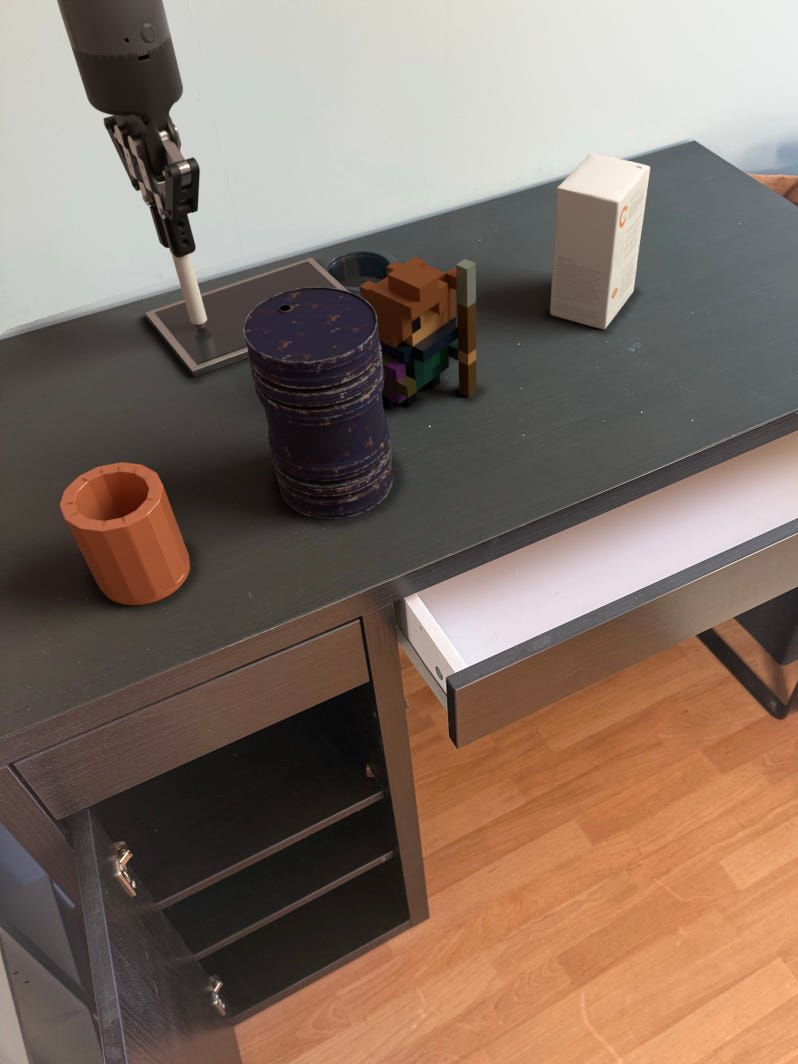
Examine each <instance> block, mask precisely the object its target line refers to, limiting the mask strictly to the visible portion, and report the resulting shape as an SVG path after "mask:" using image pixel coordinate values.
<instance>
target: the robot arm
mask: <svg viewBox="0 0 798 1064" xmlns="http://www.w3.org/2000/svg"><path fill="white" fill-rule="evenodd" d="M56 2H57V5H58V10H59V12H60V15H61V19H62V22H63V25H64V28H65V32H66V34H67V37H68V41H69V44H70V47H71V51H72V54H73V57H74V60H75V63H76V67H77V70H78V73H79V77H80V78H81V82H82V86H83V88H84V92H85V95H86V98H87V101H88V103H89V104H90V106H92V107H93V108H94V109H95V110H97V111H98V112H100V113H103V114H106V115H109V116H106V117H104V118H103V125H104V129H106V131H107V133H108V136H109V138H110V140H111V142H112V144H113V147H114V149H115V150H116V153H117V155H118V157H119V159H120V161H121V163H122V165H123V166H122V167H124V170H125V172H126V175H127V176H128V179H129V180H130V184H131V187H132V188H133V189H134V190H135V191H136V192H139V191H140V193H141V197H142V200H143V202H144V203H145V205H146V206H147V207H149V211H150V214H151V215H150V216H151V218H152V222H153V226H154V228H155V232H156V235H157V238H158V242H159V244H160V245H161V246H163V247H164V248H165V249H169V251H170V253H172V254H173V255H174V256H175V257H178V258H179V257H182V256H185V255H188V254H190V255H191V254H193V253H194V252H195V251H196V248H197V246H196V242H195V238H194V234H193V230H192V226H191V223H190V218H189V216H188V215H190V214H193V213H196V212H199V195H200V194H199V193H200V176H201V175H200V174H201V169H200V165H199V163H198V160H197V159H196V158H195V157H194V156H192V157H188V158H186V159H185V157H184V155H183V154H182V152H181V147H182V141H181V138H180V134H179V130H178V128H177V126H176V125H175V123H174V122H173V120H172V117H171V116H170V111H171V109H172V107H173V106H174V105H175V104H176V103H177V102H178V101H179V100H181V98H182V96H183V93H184V86H183V80H182V77H181V73H180V69H179V64H178V60H177V56H176V52H175V47H174V42H173V38H172V35H171V30H170V27H169V22H168V18H167V14H166V8H165V5H164V2H163V0H56ZM164 192H165V197H164ZM172 254H171V255H172Z"/></svg>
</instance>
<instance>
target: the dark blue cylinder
mask: <svg viewBox="0 0 798 1064" xmlns="http://www.w3.org/2000/svg"><path fill="white" fill-rule="evenodd" d="M243 331H244V336H245V341H246V345H247V347H248V353H249V358H248V361H249V362H248V363H249V368H250V372H251V376H252V380H253V383H254V389H255V393H256V396H257V398H258V400H259V402H260V404H261V405H262V407H263V408H264V414H265V417H266V421H267V426H268V430H267V440H268V445H269V449H270V458H271V463H272V467H273V470H274V472H275V474H276V477H277V478H276V479H277V480H278V485H279V491H280V494H281V497H282V498H283V500H284V501H285V502H286V504H287V505H288V506H290V508H292V509H293V510H295V511H296V512H298V513H300V514H302V515H305V516H307V517H311V518H315V519H319V520H341V519H342V520H343V519H348V518H352V517H356V516H359V515H362V514H364V513H366V512H368V511H370V510H371V509H373V508H375V507H376V506H378V505H379V504H381V502H383V501H384V500H385V498H387V496H388V495H389V493H390V492H391V488H392V487H393V482H394V472H393V466H392V456H393V449H392V439H391V435H390V428H389V423H388V418H387V417H386V415H385V412H384V411H385V410H384V405H383V401H382V391H383V386H384V370H383V359H382V349H381V345H380V342H379V334H378V323H377V315H376V312H375V310H374V308H373V307H372V305H371V304H370V303H369V302H367V301H366V300H365V299H363V298H362V297H361V295H359V294H356V293H354V292H353V291H352V292H351V291H349V290H348V291H346V290H341V289H337V288H329V287H306V288H299V289H294V290H289V291H285V292H282V293H279V294H277V295H274V296H272V297H270V298H268V299H266V300H264V301H263V302H261V303H260V304H258V305H257V306H256V307H255V308H254V309H253V310H252V311H251V312H250V313H249V314H248V316H247V318H246V320H245V322H244V328H243Z"/></svg>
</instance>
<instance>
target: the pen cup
mask: <svg viewBox="0 0 798 1064" xmlns="http://www.w3.org/2000/svg"><path fill="white" fill-rule="evenodd" d="M162 482H163V481H162V480H161V479H160V476H159V475H158V473H157V472H156V471H154V470H152V469H151V468H149V467H147V466H145V465H143V464H141V463H131V462H122V461H121V462H115V463H110V464H105V465H100V466H95V467H94V468H91V469H90V470H88V471H86V472H84V473H82V474H80V475H78V476H77V477H76V478H75V479H74V480H73V481H72V482H71V483H70V484H69V485H68V486H67V487H66V488H65V489H64V490H63V494H62V496H61V500H60V503H59V508H60V511H61V513H62V516H63V519H64V520H65V522H66V524H67V526H68V528H69V531H70V533H71V534H72V537H73V539H74V540H75V542H76V544H77V546H78V548H79V551H80V553H81V555H82V556H83V558H84V561H85V562H86V564H87V566H88V568H89V570H90V572H91V574H92V576H93V578H94V580H95V582H96V584H97V586H98V588H99V590H100V591H101V592H102V594H103V595H104V596H105V597H106V598H108V599H109V600H111V601H112V602H114V603H117V604H120V605H125V606H143V605H149V604H152V603H153V604H154V603H155V602H158V601H161V600H164V599H166V598H167V597H169V596H171V595H173V593H175V592H176V591H177V590H178V589H179V588H181V586H182V585H183V584H184V583H185V581H186V580H187V578H188V576H189V573H190V569H191V559H190V554H189V551H188V548H187V546H186V543H185V541H184V538H183V535H182V533H181V530H180V528H179V525H178V522H177V519H176V516H175V514H174V511H173V508H172V505H171V503H170V500H169V498H168V494H167V492H166V489H165V487H164V484H163V483H162Z"/></svg>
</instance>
